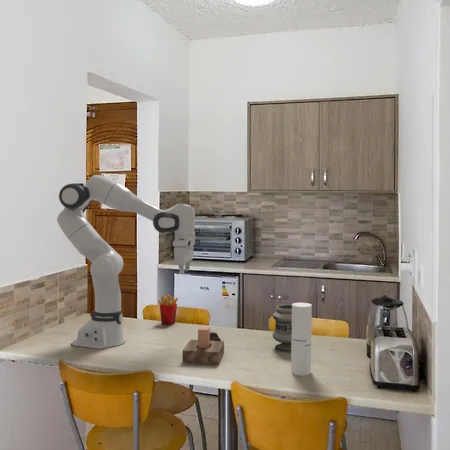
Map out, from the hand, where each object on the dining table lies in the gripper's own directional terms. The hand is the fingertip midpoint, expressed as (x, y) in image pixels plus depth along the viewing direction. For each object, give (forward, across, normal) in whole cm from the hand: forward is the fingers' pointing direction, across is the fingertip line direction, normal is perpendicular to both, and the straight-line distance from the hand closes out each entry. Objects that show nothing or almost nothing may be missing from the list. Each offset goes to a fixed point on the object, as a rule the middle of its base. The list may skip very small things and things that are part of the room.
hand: (184, 272), depth 215 cm
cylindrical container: (+30, +29, +51) cm, 66 cm away
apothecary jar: (+30, +2, +45) cm, 54 cm away
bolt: (+31, +2, +14) cm, 34 cm away
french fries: (+31, -26, -14) cm, 43 cm away
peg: (+31, +20, +13) cm, 39 cm away
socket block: (+31, +20, +13) cm, 39 cm away
